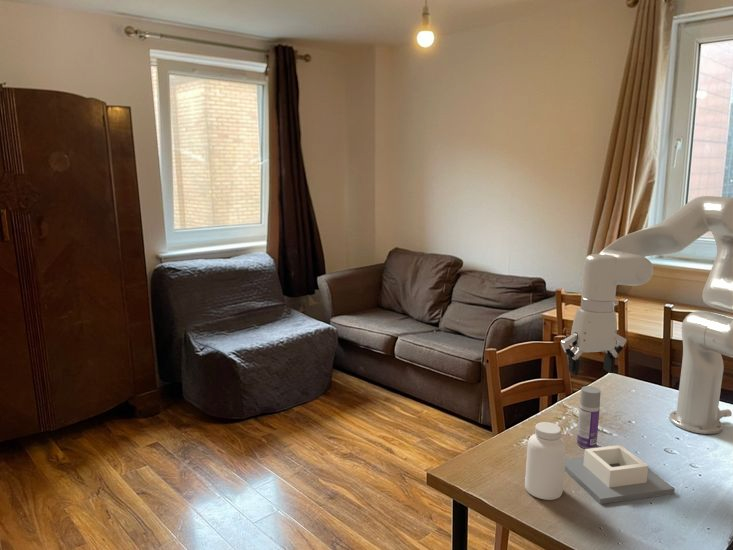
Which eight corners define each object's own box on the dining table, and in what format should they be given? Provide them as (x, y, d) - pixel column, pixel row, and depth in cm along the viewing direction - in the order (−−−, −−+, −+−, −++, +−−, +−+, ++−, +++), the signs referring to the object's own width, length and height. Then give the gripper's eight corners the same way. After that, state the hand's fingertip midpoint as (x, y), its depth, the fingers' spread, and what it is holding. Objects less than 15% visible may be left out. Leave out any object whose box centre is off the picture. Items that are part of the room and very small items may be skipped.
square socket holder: (625, 456, 133) (627, 436, 132) (674, 493, 118) (676, 471, 117) (558, 464, 130) (560, 444, 129) (600, 504, 115) (601, 481, 114)
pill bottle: (558, 505, 114) (563, 439, 111) (520, 493, 118) (523, 429, 115) (566, 487, 121) (571, 424, 118) (530, 476, 125) (534, 415, 122)
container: (593, 440, 141) (597, 386, 138) (598, 449, 137) (603, 393, 134) (574, 439, 142) (578, 385, 139) (579, 448, 137) (584, 392, 134)
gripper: (618, 300, 137) (612, 365, 140) (556, 303, 134) (551, 369, 137) (639, 307, 130) (631, 375, 133) (574, 310, 127) (567, 380, 130)
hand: (590, 372), depth 135 cm, fingers open, 9 cm apart
